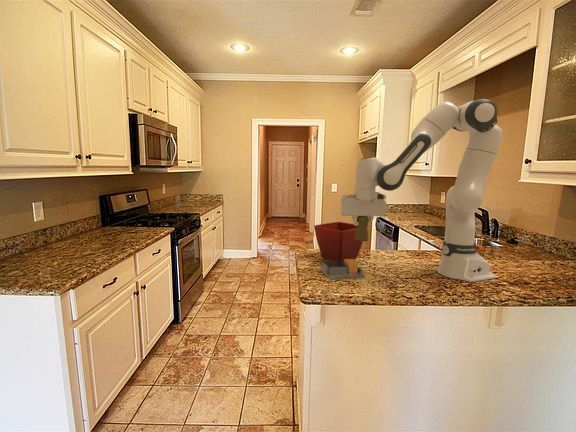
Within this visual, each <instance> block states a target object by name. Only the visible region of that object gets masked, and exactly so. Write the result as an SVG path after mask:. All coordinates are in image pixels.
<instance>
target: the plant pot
mask: <svg viewBox="0 0 576 432" xmlns="http://www.w3.org/2000/svg"><path fill="white" fill-rule="evenodd" d="M356 229H357V226H354V223H349V222H344V221H343V222H342V221H334V222H328V223H321V224H314V234H315V238H316V241H317V242H316V243H317V245H318V249H319V251H320V254H321V255H320V256H322V258H324V259H327V260H329V261H341V260H342V261H343V262H344V259H354V260H356V259H357V257H358V256H359V254H360V250H361V249H362V248H361V247H362V246H363V242H364V241H357V240H355V234H356Z"/></svg>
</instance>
